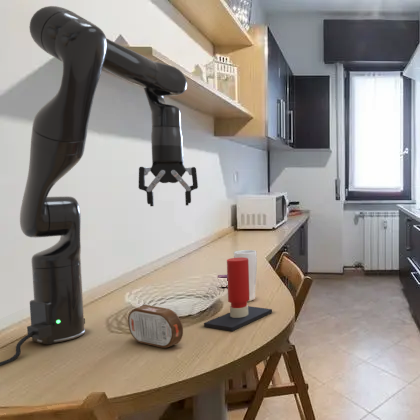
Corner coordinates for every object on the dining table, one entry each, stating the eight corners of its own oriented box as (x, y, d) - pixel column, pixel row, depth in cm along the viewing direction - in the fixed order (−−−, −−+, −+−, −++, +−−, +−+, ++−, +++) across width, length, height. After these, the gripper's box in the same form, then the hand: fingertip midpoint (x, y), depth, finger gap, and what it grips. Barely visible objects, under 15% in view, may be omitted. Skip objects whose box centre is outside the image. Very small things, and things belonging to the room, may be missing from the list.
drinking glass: (251, 303, 128) (250, 253, 127) (230, 302, 129) (229, 253, 128) (261, 297, 135) (260, 250, 134) (241, 296, 136) (240, 249, 135)
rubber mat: (232, 331, 104) (232, 327, 104) (203, 326, 108) (203, 322, 107) (272, 312, 119) (272, 309, 119) (246, 309, 122) (246, 305, 122)
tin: (184, 346, 94) (183, 309, 94) (172, 352, 92) (171, 313, 91) (138, 337, 101) (137, 302, 100) (126, 341, 98) (124, 305, 97)
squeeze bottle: (235, 257, 116) (237, 311, 117) (222, 260, 111) (224, 317, 112) (252, 258, 114) (254, 313, 115) (239, 261, 109) (241, 319, 110)
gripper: (135, 143, 108) (138, 207, 109) (196, 144, 113) (198, 205, 114) (138, 145, 115) (141, 206, 116) (196, 146, 120) (198, 204, 121)
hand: (169, 205), depth 115 cm, fingers open, 8 cm apart
